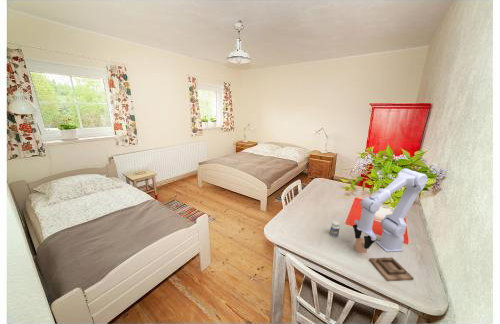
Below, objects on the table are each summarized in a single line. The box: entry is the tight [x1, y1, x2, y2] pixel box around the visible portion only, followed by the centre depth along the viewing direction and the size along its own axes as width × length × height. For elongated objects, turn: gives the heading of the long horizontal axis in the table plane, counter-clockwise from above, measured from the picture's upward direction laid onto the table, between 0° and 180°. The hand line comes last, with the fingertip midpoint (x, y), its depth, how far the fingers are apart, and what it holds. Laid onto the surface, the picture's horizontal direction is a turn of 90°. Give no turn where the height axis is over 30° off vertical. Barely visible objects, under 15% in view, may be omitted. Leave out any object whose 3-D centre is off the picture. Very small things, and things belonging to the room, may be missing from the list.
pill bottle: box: [329, 220, 341, 238], centre depth 113 cm, size 5×5×8 cm
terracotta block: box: [354, 237, 368, 254], centre depth 101 cm, size 4×4×6 cm
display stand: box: [368, 256, 414, 282], centre depth 89 cm, size 12×12×3 cm
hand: (361, 243), depth 100 cm, fingers open, 7 cm apart
